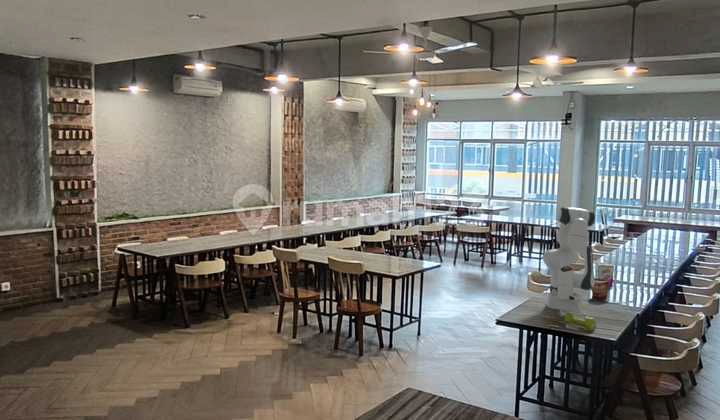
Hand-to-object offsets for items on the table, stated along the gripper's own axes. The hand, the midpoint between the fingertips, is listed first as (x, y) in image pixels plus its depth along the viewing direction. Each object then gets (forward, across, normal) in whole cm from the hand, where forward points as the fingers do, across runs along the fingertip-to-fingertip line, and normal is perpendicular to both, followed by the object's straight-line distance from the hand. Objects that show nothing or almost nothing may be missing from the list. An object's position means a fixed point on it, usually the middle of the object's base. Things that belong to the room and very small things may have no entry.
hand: (564, 317), depth 344 cm
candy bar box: (+4, -34, +118) cm, 123 cm away
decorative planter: (+4, -16, +74) cm, 76 cm away
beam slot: (+4, +3, 0) cm, 5 cm away
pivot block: (+4, +9, +10) cm, 14 cm away
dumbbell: (+4, +10, 0) cm, 11 cm away
